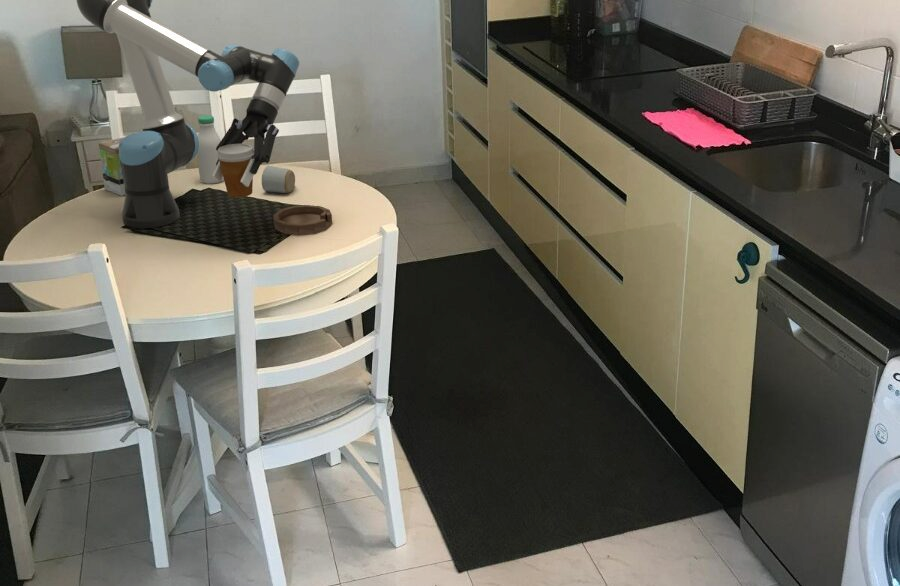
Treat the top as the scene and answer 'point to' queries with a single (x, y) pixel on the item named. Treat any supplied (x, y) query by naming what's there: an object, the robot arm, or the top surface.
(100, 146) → the tea box
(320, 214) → the round brown ashtray
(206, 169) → the milk bottle
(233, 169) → the disposable coffee cup
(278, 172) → the ceramic mug
